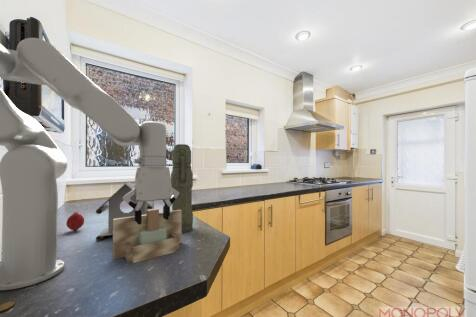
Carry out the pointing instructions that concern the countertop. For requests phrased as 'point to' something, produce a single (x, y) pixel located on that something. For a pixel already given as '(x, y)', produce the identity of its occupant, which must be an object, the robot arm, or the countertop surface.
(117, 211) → the grey nesting box
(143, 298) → the countertop surface
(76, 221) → the onion
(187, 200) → the green carved statue
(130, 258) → the wooden box
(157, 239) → the green and brown block
